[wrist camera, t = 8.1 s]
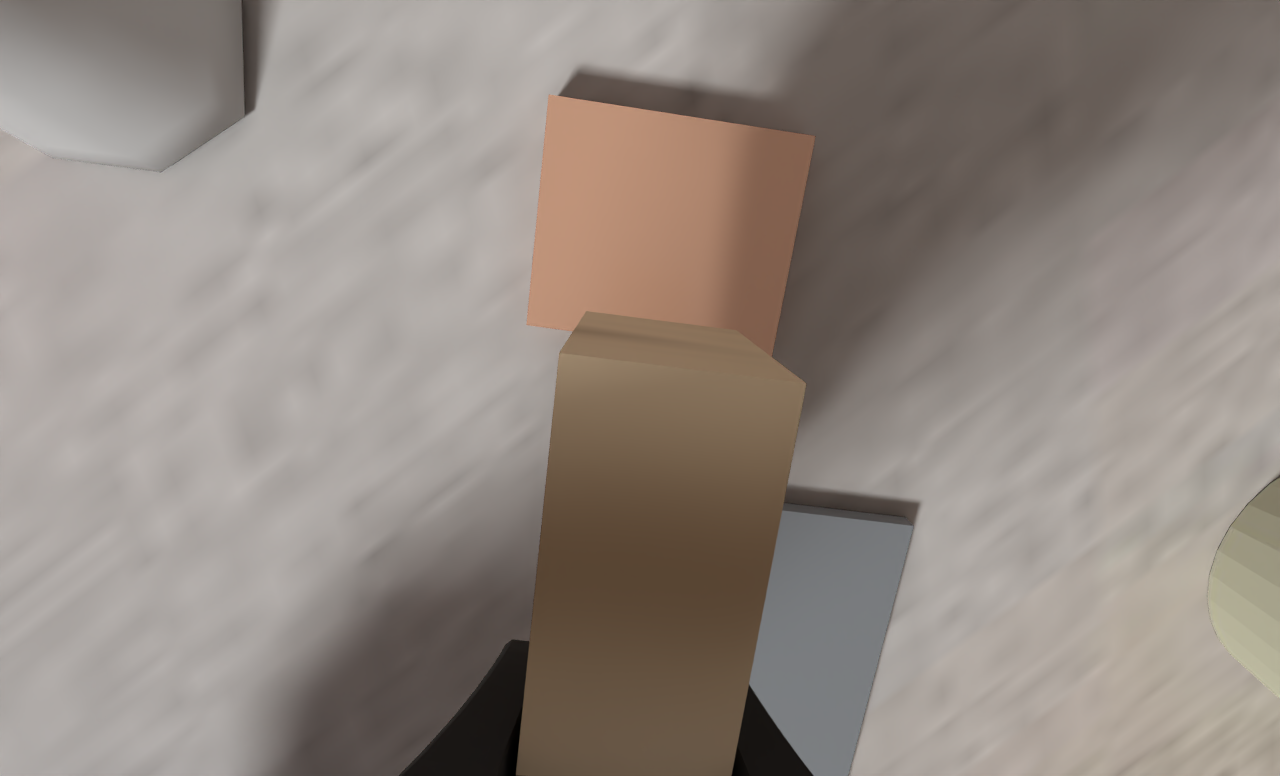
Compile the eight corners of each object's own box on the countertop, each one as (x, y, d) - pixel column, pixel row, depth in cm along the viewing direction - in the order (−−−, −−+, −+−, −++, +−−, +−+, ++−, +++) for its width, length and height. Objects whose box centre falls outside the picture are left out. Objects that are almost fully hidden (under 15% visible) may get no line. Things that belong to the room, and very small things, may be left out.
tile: (771, 358, 18) (815, 135, 16) (526, 324, 18) (549, 94, 16) (760, 348, 19) (800, 143, 18) (534, 317, 19) (555, 105, 18)
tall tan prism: (667, 753, 15) (686, 1007, 10) (538, 741, 14) (492, 993, 10) (736, 330, 12) (805, 383, 8) (586, 311, 12) (559, 353, 7)
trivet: (829, 813, 23) (834, 828, 23) (613, 793, 23) (613, 807, 22) (905, 517, 20) (913, 525, 20) (659, 488, 20) (660, 496, 19)
